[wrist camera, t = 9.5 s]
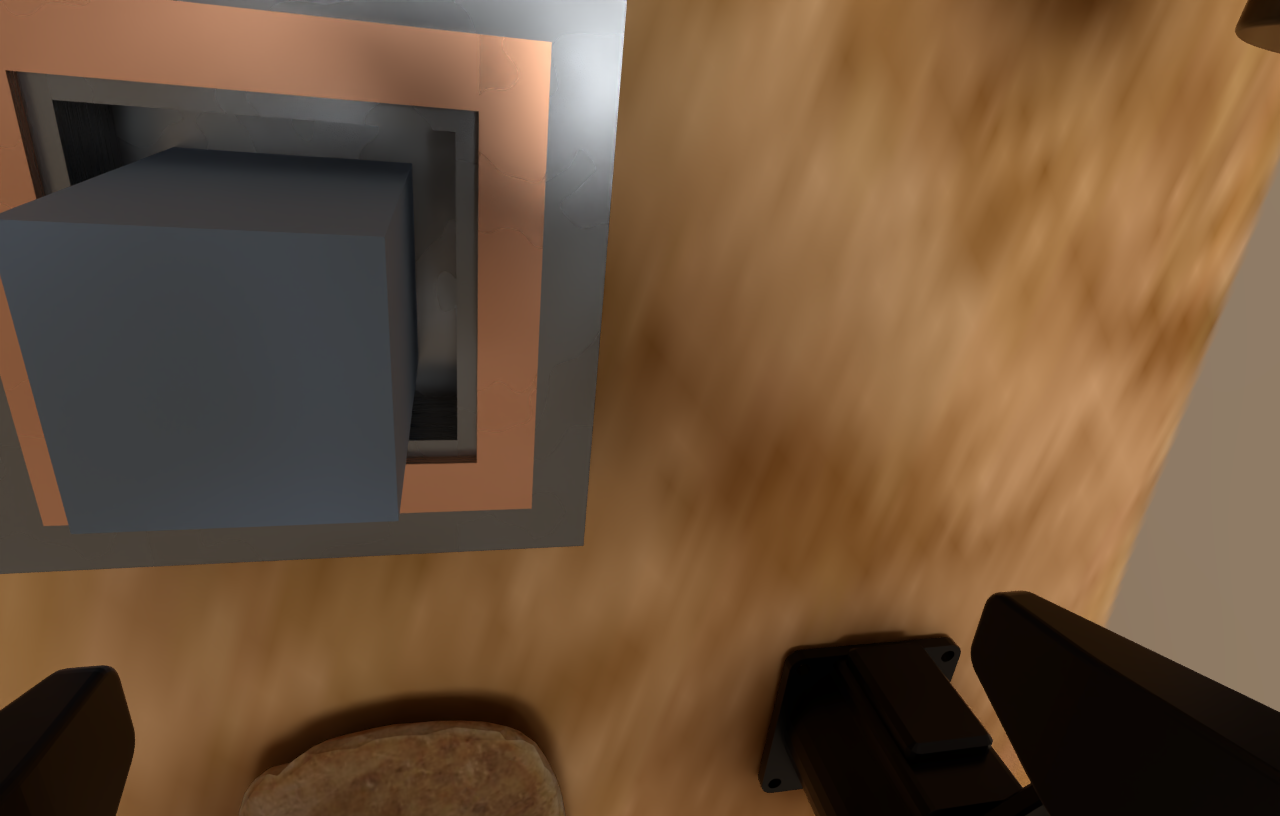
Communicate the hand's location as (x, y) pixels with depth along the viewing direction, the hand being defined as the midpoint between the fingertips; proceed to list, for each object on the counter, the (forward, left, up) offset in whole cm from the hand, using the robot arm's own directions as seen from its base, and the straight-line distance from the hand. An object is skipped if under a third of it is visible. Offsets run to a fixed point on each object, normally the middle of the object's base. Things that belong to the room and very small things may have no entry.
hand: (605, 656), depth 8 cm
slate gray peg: (+1, +5, -11) cm, 12 cm away
